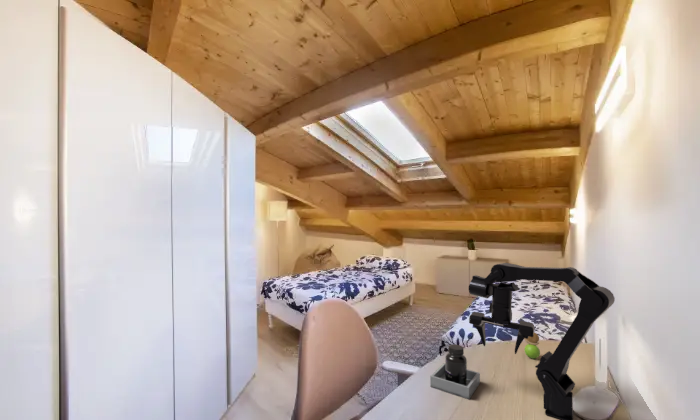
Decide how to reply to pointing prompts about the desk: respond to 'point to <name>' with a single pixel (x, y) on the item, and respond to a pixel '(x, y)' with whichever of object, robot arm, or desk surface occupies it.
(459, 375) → the supplement bottle
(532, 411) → the desk surface
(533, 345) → the snail figurine
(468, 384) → the box
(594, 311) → the robot arm
